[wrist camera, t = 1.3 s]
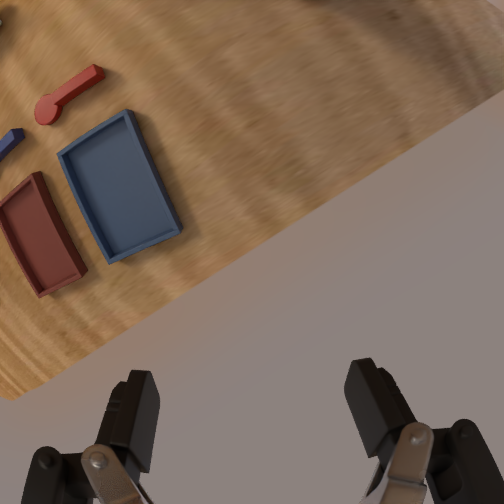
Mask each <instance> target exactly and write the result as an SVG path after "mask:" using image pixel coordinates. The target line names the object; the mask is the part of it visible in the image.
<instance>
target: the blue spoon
mask: <svg viewBox="0 0 504 504" xmlns="http://www.w3.org/2000/svg"><path fill="white" fill-rule="evenodd" d="M24 138H25V137H24V133H23V130H22V128H17V129H11V130H10V131H9V132H8V133H7V134H6V135H5V136H4V137H3V138H2V139H1V140H0V161H1V160H2V159H3V158H4V157H5V156H6V155H7V154H8V153H9V152H10V151H11V150H12V149H13V148H14V147H15V146H16V145H17V144H18V143H19V142H21V141H22V140H23V139H24Z"/></svg>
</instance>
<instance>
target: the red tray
mask: <svg viewBox="0 0 504 504" xmlns="http://www.w3.org/2000/svg"><path fill="white" fill-rule="evenodd" d="M0 227H1V229H2V231H3V233H4V235H5V238H6V240H7V242H8V244H9V246H10V248H11V250H12V252H13V254H14V256H15V258H16V260H17V262H18V264H19V265H20V267H21V269H22V271H23V273H24V275H25V276H26V278H27V280H28V282H29V283H30V285H31V287H32V288H33V290H34V292H35V293H36V295H37V296H38V298H41V297H43V296H45V295H47V294H49V293H51V292H53V291H55V290H57V289H59V288H61V287H63V286H65V285H67V284H69V283H72V282H74V281H76V280H78V279H80V278H82V277H83V276H84V275H85V274H86V272H87V271H88V270H87V268H86V266H85V265H84V263H83V261H82V259H81V257H80V256H79V254H78V252H77V250H76V248H75V246H74V244H73V243H72V241H71V239H70V237H69V235H68V233H67V231H66V229H65V227H64V225H63V223H62V221H61V219H60V216H59V214H58V212H57V210H56V208H55V206H54V203H53V201H52V199H51V197H50V194H49V192H48V189H47V187H46V185H45V182H44V180H43V177H42V175H41V172H40V171H38V172H35V173H32V174H30V175H29V176H28V177H27V178H26V179H24V180H23V181H22V182H21V183H20V184H19V185H18V186H17V187H15V188H14V189H13V190H12V191H11V192H10V193H9V194H8V195H7V196H6V197H5V198H4V199H3V200H2V201H1V202H0Z"/></svg>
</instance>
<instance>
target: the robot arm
mask: <svg viewBox="0 0 504 504" xmlns="http://www.w3.org/2000/svg"><path fill="white" fill-rule="evenodd" d="M344 393H345V397H346V400H347V403H348V405H349V408H350V410H351V413H352V415H353V418H354V421H355V423H356V426H357V428H358V431H359V434H360V437H361V439H362V442H363V445H364V447H365V450H366V453H367V455H368V458H371V457H374V456H378V458H379V462H378V464H377V466H376V469H375V471H374V474H373V476H372V478H371V481H370V483H369V485H368V487H367V489H366V492H365V494H364V496H363V498H362V499H361V501H360V503H359V504H423V501H424V498H425V495H426V491H427V486H426V485H425V484H424V478H426V480H427V483H428V486H429V489H430V492H431V494H432V498H433V501H434V504H504V481H503V478H502V476H501V474H500V472H499V469H498V467H497V465H496V463H495V461H494V459H493V457H492V454H491V453H490V450H489V449H488V446H487V445H486V443H485V441H484V439H483V437H482V435H481V433H480V431H479V429H478V427H477V426H476V425H475V423H474V422H472V421H471V420H468V419H460V420H458V421H456V422H455V423H454V424H453V426H452V427H451V428H442V429H431V428H430V427H429V426H427V425H426V424H424V423H420V422H418V421H417V420H416V419H415V417H414V415H413V413H412V411H411V409H410V408H409V406H408V404H407V402H406V400H405V398H404V397H403V395H402V394H401V392H400V390H399V388H398V386H396V382H395V381H394V379H393V377H392V375H391V374H390V373H388V372H387V371H386V370H385V369H384V368H382V367H381V368H377V367H376V365H375V363H374V362H373V360H372V359H371V358H364V359H358V360H353V361H352V362H351V365H350V368H349V372H348V375H347V378H346V381H345V386H344ZM159 409H160V397H159V393H158V390H157V388H156V385H155V382H154V379H153V376H152V373H151V372H150V371H143V370H131V372H130V374H129V377H128V380H127V382H122V381H121V382H119V383H118V384H117V386H116V387H115V388H114V389H113V390H112V393H111V396H110V399H109V403H108V405H107V408H106V411H105V414H104V417H103V420H102V423H101V427H100V429H99V433H98V436H97V440H96V442H95V443H94V445H92V446H89V447H88V448H86V449H85V451H84V452H82V453H72V454H60V453H59V452H58V451H57V450H56V449H55V448H53V447H49V446H45V447H41V448H39V449H38V450H37V451H36V452H35V453H34V455H33V458H32V461H31V465H30V468H29V472H28V476H27V479H26V483H25V487H24V492H23V496H22V501H21V504H93V498H98V499H99V501H100V503H101V504H155V503H154V502H153V500H152V499H151V497H150V496H149V495H148V493H147V492H146V490H145V489H144V487H143V486H142V484H141V483H140V481H139V478H140V472H143V473H149V470H150V463H151V457H152V449H153V444H154V438H155V432H156V425H157V420H158V414H159Z"/></svg>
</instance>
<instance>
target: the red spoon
mask: <svg viewBox="0 0 504 504" xmlns="http://www.w3.org/2000/svg"><path fill="white" fill-rule="evenodd" d="M104 78H105V75H104V72H103V70H102V68H101V67H99V66H97V65H95V64H92V65H91V66H89V67H88V68H86V69H85V70H83V71H82V72H80V73H79V74H77V75H76V76H75V77H73V78H72V79H70V80H69V81H68V82H66V83H65V84H63V85H62V86H61V87H60V88H58V89H57V90H56V91H54V92H53V93H52V94H46V95H44V96H43V97H41V98H40V100H39V101H38V102H37V104H36V107H35V119H36V121H37V122H38V123H39V124H40V125H50V124H53V123H54V122H55V121H56V120H57V119H58V118H59V116H60V114H61V111H62V106H64V105H65V104H67V103H68V102H69V101H71V100H72V99H74V98H75V97H76V96H78V95H79V94H81V93H82V92H84V91H85V90H87V89H88V88H90V87H91V86H93V85H94V84H96V83H98V82H99V81H101V80H102V79H104Z"/></svg>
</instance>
